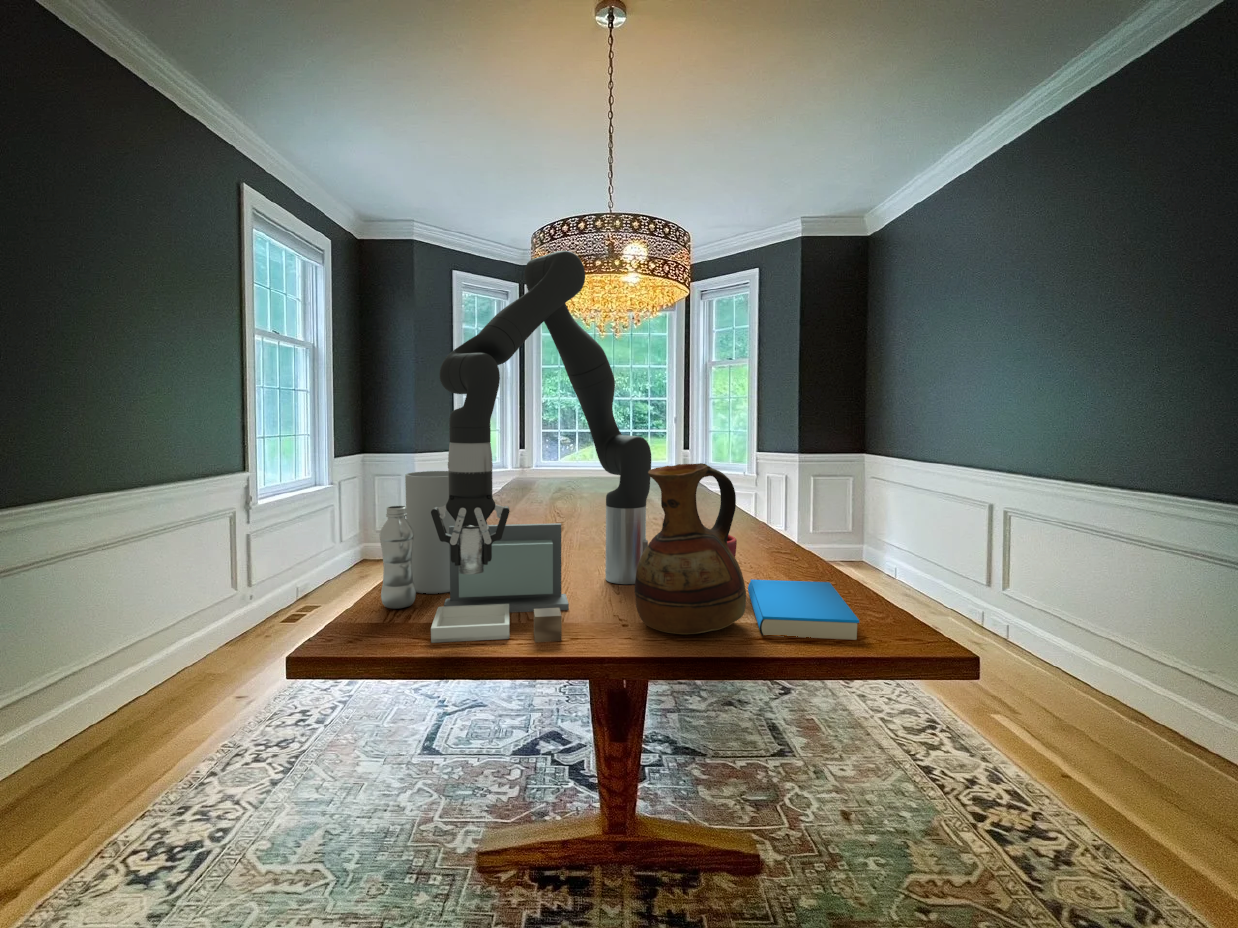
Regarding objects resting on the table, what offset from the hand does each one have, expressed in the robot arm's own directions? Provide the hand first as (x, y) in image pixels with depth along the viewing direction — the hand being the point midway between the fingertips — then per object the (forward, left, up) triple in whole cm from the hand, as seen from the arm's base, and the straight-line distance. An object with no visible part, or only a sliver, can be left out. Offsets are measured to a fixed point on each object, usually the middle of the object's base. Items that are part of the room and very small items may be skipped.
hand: (471, 563), depth 116 cm
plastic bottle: (+15, -15, -12) cm, 24 cm away
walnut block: (-13, +6, -12) cm, 19 cm away
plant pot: (-49, -19, -12) cm, 54 cm away
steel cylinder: (0, 0, -1) cm, 1 cm away
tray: (0, 0, -12) cm, 12 cm away
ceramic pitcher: (-39, +4, -12) cm, 41 cm away
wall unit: (-6, -12, -12) cm, 18 cm away
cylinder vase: (+9, -29, -12) cm, 33 cm away
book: (-61, +1, -12) cm, 63 cm away
